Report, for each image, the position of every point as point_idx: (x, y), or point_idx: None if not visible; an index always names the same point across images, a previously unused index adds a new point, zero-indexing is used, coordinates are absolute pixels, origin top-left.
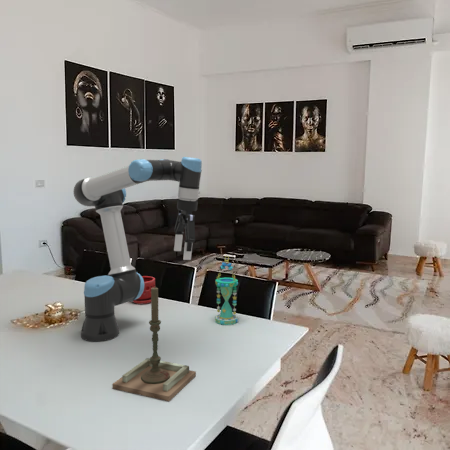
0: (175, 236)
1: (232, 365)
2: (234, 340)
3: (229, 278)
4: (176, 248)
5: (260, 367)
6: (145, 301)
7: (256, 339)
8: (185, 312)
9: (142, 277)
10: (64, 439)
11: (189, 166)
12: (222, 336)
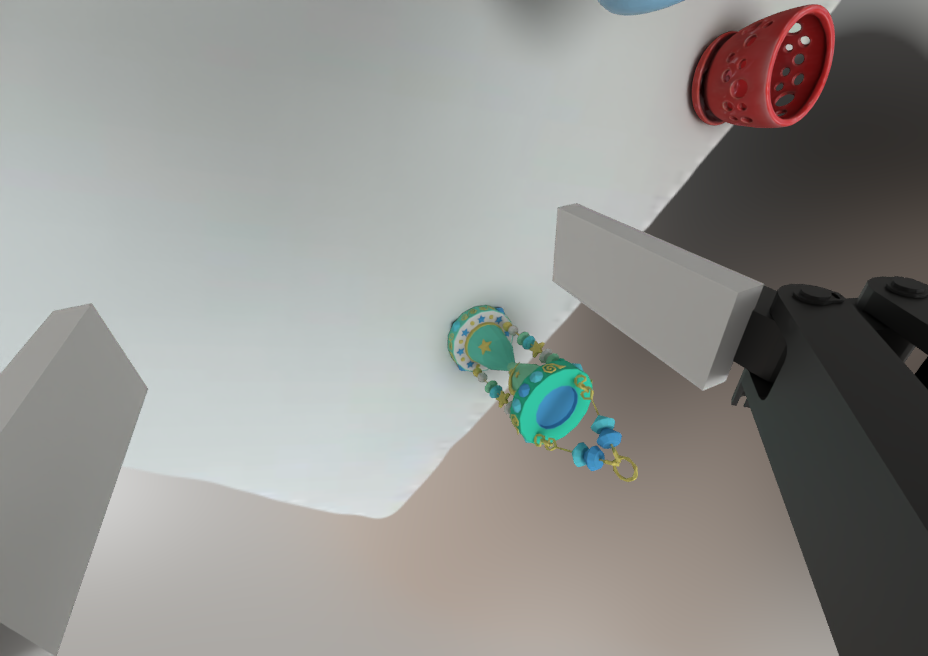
0: (723, 270)
1: None
2: (313, 355)
3: (575, 415)
4: (574, 238)
5: None
6: (696, 83)
7: (316, 415)
8: None
9: (820, 77)
10: None
11: None
12: (353, 320)
